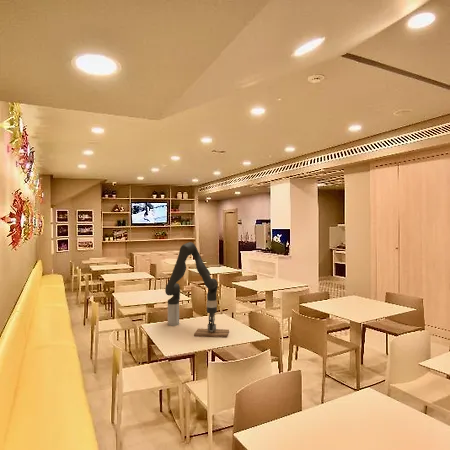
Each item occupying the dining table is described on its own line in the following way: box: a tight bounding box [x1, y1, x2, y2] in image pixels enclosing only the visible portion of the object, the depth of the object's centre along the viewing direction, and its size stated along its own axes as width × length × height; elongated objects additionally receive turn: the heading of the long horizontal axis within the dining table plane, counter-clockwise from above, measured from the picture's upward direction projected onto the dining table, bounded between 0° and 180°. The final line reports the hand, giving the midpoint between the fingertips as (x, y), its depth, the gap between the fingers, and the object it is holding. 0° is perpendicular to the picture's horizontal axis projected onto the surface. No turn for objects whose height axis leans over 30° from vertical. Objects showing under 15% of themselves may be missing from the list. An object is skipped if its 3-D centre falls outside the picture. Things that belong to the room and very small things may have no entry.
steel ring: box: [207, 323, 217, 331], centre depth 267 cm, size 6×6×4 cm
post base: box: [193, 328, 230, 339], centre depth 267 cm, size 14×24×6 cm, turn 83°
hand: (211, 328), depth 267 cm, fingers open, 6 cm apart
